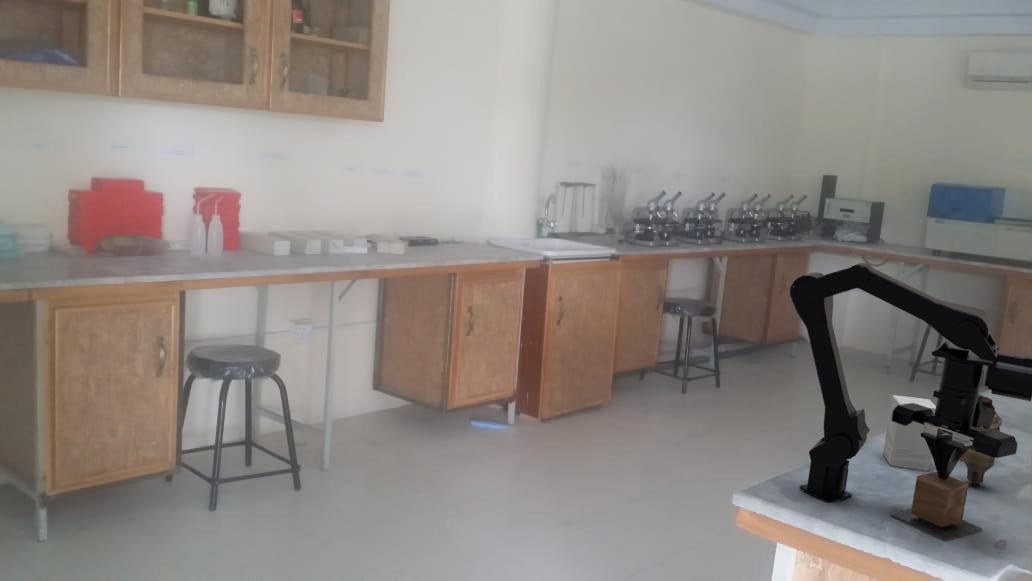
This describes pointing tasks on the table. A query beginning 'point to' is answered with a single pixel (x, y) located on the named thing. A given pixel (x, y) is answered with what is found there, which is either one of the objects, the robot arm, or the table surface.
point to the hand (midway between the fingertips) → (943, 478)
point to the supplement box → (907, 438)
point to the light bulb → (980, 457)
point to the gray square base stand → (935, 530)
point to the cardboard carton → (939, 499)
